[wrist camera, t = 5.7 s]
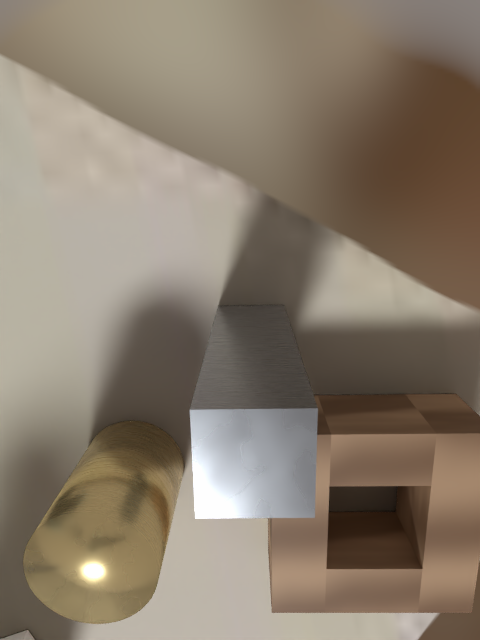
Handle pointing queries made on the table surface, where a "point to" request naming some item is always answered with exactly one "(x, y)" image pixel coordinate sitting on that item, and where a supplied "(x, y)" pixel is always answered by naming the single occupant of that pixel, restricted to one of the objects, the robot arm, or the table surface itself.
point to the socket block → (386, 527)
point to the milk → (20, 636)
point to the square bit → (253, 420)
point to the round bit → (108, 526)
